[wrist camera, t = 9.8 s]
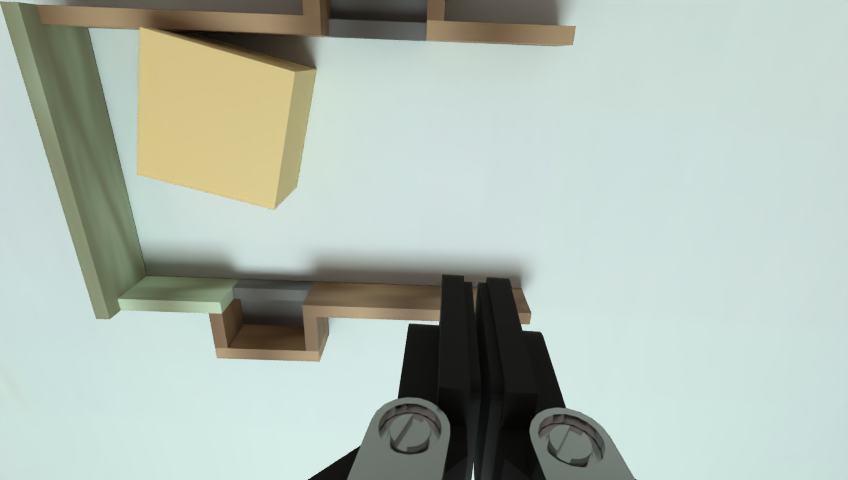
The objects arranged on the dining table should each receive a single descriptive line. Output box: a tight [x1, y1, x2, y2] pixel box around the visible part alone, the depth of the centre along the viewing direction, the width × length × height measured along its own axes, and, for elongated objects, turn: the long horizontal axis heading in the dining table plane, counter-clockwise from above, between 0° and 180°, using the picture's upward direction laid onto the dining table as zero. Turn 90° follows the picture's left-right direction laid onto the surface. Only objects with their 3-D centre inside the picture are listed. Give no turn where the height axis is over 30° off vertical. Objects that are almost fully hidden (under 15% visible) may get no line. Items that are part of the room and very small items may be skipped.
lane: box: [0, 0, 576, 362], centre depth 25 cm, size 26×23×4 cm
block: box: [137, 27, 317, 210], centre depth 23 cm, size 7×7×4 cm
